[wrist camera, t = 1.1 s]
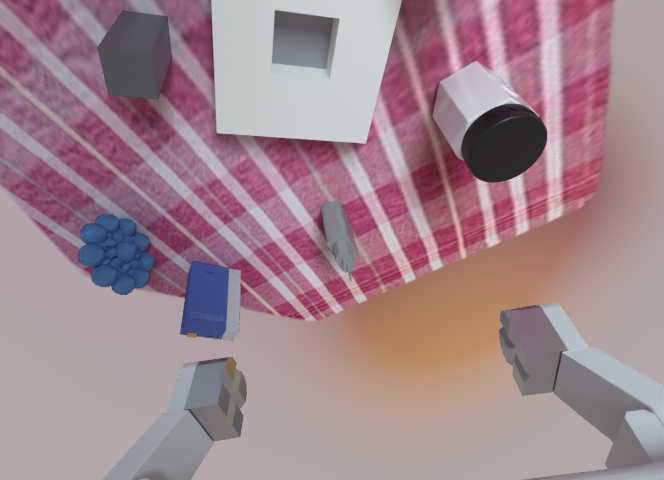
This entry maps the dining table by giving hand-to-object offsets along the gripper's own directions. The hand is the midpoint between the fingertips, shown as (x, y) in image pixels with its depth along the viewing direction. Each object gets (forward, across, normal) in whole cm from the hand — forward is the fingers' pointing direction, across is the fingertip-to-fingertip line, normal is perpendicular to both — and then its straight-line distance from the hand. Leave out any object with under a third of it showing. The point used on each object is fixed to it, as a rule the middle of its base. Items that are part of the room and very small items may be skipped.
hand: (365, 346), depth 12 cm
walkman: (+43, +25, +29) cm, 58 cm away
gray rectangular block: (+37, +17, -6) cm, 41 cm away
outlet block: (+39, +2, -3) cm, 39 cm away
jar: (+42, -15, +9) cm, 46 cm away
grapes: (+40, +33, +16) cm, 54 cm away
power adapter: (+44, +4, +23) cm, 49 cm away
